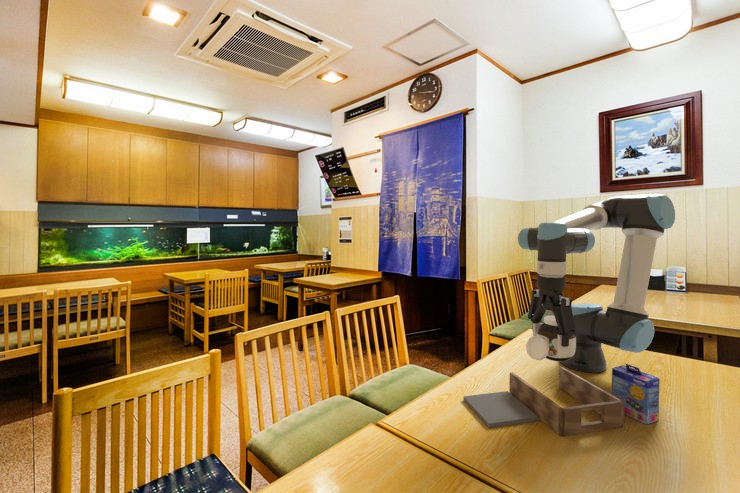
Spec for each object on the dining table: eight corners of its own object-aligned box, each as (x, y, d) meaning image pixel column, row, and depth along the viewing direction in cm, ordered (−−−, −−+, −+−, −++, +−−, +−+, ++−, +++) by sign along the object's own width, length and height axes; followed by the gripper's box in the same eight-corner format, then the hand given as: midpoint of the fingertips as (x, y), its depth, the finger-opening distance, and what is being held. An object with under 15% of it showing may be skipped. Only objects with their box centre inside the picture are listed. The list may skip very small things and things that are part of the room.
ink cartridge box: (609, 407, 104) (611, 359, 103) (621, 403, 106) (623, 356, 105) (646, 425, 95) (648, 373, 94) (659, 420, 97) (661, 369, 96)
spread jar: (577, 357, 104) (579, 318, 103) (567, 369, 96) (569, 327, 95) (535, 348, 112) (535, 312, 111) (522, 358, 104) (523, 319, 103)
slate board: (463, 400, 110) (463, 396, 110) (507, 394, 112) (507, 391, 112) (488, 427, 95) (488, 423, 95) (538, 420, 98) (538, 416, 98)
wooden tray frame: (509, 393, 113) (509, 372, 113) (561, 387, 117) (562, 366, 116) (560, 436, 91) (561, 410, 90) (623, 426, 94) (624, 401, 94)
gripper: (516, 270, 113) (515, 338, 115) (568, 282, 91) (566, 366, 93) (537, 269, 114) (535, 337, 116) (593, 281, 92) (590, 363, 94)
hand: (549, 350), depth 104 cm, fingers closed on spread jar, 10 cm apart
